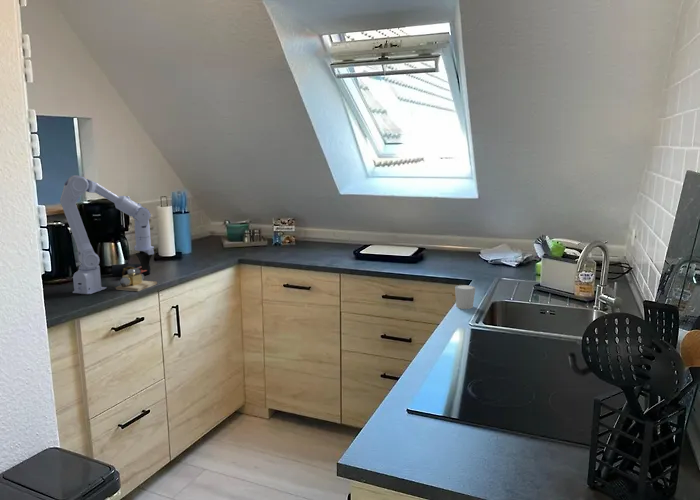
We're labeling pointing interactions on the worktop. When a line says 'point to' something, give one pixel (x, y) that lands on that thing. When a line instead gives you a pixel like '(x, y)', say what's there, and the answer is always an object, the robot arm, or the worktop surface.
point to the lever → (135, 271)
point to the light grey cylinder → (464, 296)
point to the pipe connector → (126, 269)
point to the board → (137, 286)
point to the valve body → (131, 279)
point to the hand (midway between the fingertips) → (145, 269)
